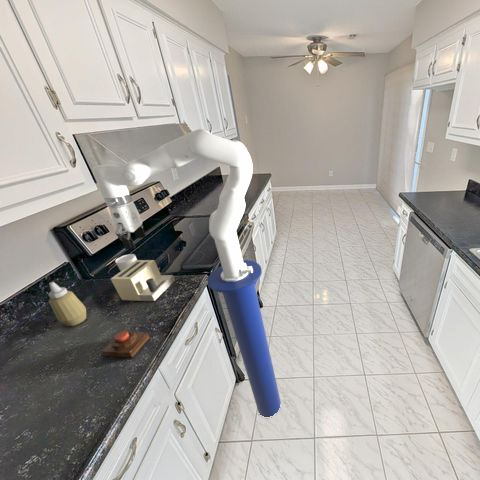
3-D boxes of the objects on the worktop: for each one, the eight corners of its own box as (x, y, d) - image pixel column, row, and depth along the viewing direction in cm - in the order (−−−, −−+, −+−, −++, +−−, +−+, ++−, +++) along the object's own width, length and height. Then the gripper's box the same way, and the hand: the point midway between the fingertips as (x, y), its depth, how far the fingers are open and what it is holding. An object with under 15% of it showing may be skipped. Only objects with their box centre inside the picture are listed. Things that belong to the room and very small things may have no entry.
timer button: (132, 334, 84) (130, 330, 83) (123, 343, 81) (121, 339, 80) (122, 334, 84) (120, 330, 83) (113, 342, 81) (111, 339, 80)
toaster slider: (158, 288, 106) (154, 278, 104) (154, 292, 104) (150, 282, 102) (153, 287, 107) (148, 278, 104) (148, 291, 104) (144, 282, 102)
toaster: (175, 280, 116) (167, 260, 111) (154, 301, 104) (144, 279, 99) (145, 280, 118) (136, 259, 113) (121, 300, 106) (110, 278, 101)
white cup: (146, 273, 123) (138, 255, 119) (130, 282, 117) (121, 264, 113) (136, 270, 127) (128, 252, 122) (120, 279, 120) (111, 261, 116)
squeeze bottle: (74, 314, 100) (49, 277, 92) (95, 312, 100) (72, 275, 92) (57, 330, 93) (28, 291, 84) (79, 328, 93) (53, 289, 85)
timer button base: (149, 337, 87) (145, 328, 85) (132, 357, 80) (127, 348, 78) (123, 336, 88) (118, 327, 86) (104, 356, 81) (98, 347, 79)
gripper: (118, 207, 83) (137, 252, 91) (140, 192, 99) (155, 232, 106) (93, 209, 82) (114, 255, 90) (119, 194, 97) (135, 234, 105)
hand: (136, 242), depth 98 cm, fingers open, 9 cm apart
